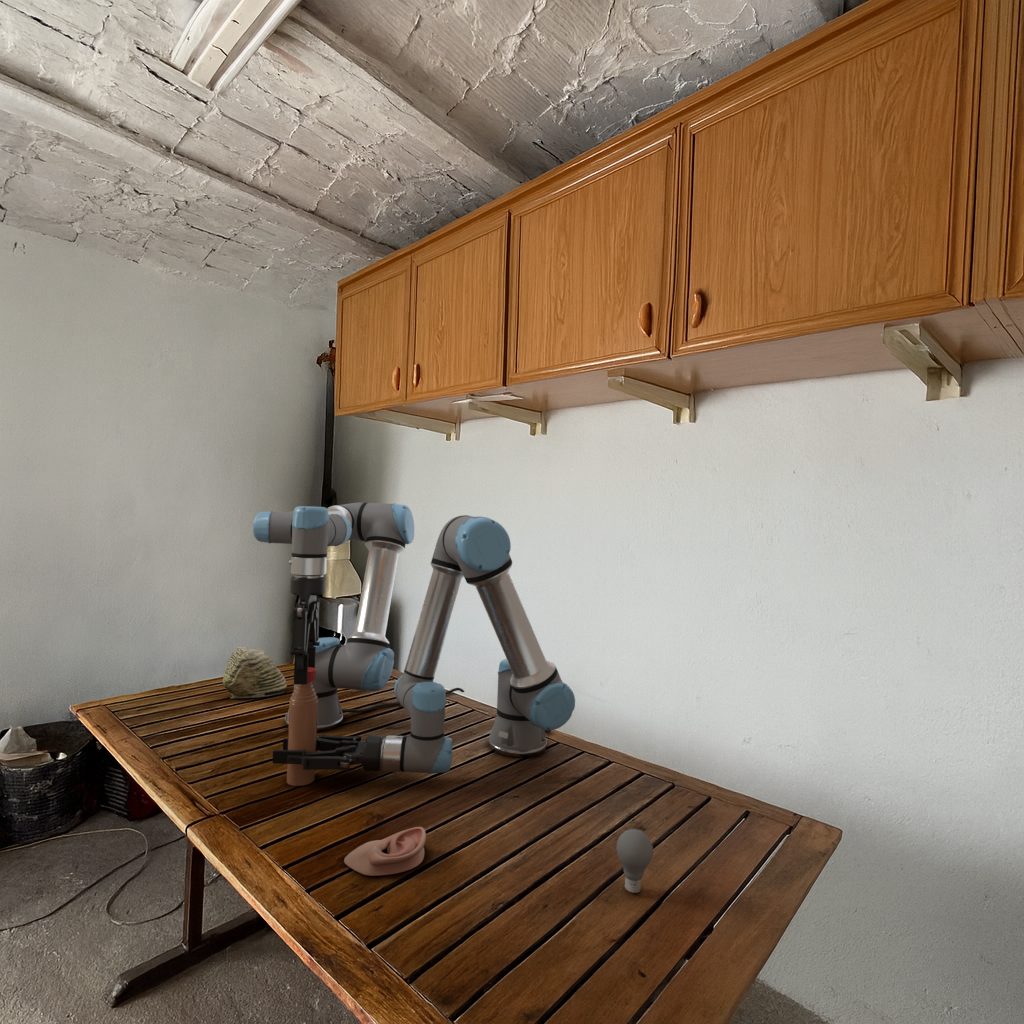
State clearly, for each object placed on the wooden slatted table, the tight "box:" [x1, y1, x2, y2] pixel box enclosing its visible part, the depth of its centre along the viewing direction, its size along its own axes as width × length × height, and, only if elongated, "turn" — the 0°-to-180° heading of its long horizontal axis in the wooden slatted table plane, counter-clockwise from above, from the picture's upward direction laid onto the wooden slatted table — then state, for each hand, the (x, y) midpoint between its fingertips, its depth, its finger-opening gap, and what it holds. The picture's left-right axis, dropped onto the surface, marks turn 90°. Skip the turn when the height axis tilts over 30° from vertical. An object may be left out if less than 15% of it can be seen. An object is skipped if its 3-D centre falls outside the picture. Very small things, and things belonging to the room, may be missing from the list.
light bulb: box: [615, 828, 654, 894], centre depth 106 cm, size 6×6×10 cm
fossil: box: [222, 646, 288, 699], centre depth 198 cm, size 9×18×15 cm, turn 132°
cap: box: [307, 667, 316, 683], centre depth 141 cm, size 5×5×2 cm
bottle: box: [286, 682, 318, 787], centre depth 141 cm, size 6×6×24 cm
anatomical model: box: [343, 826, 427, 877], centre depth 112 cm, size 13×4×12 cm
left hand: (304, 679), depth 141 cm, fingers open, 6 cm apart
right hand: (278, 750), depth 141 cm, fingers closed on bottle, 6 cm apart
